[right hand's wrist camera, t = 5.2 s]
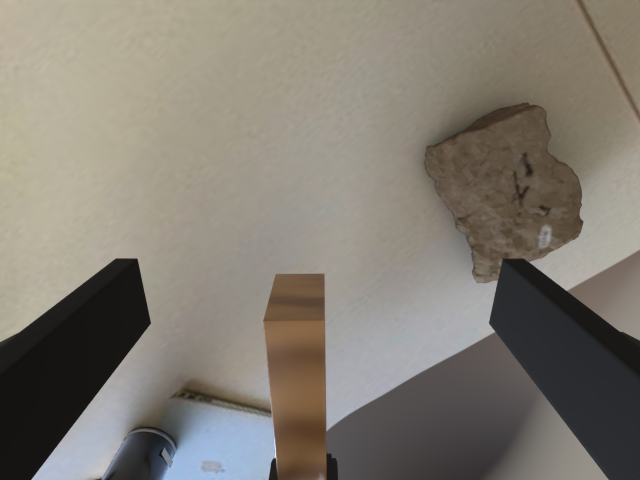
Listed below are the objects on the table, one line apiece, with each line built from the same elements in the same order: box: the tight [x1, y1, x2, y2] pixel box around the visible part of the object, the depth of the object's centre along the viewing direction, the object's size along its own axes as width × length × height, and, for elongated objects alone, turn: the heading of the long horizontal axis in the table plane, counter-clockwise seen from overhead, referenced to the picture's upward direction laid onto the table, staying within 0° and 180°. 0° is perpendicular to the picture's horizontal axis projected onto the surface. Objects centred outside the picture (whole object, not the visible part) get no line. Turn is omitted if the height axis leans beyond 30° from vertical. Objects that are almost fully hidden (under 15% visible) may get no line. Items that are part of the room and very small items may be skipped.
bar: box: [263, 274, 327, 480], centre depth 41 cm, size 27×6×9 cm, turn 1°
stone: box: [424, 103, 583, 283], centre depth 44 cm, size 21×15×6 cm
